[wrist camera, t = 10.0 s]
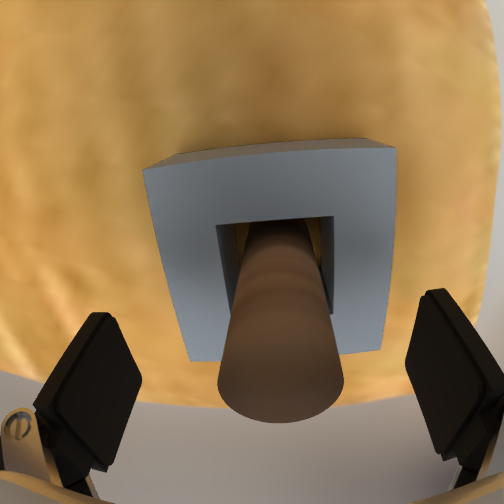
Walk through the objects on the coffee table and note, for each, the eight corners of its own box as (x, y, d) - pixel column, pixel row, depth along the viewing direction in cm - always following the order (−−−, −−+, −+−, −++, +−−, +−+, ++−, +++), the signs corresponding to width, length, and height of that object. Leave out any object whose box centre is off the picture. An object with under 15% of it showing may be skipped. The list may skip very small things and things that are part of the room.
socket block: (175, 154, 18) (142, 170, 13) (364, 138, 16) (396, 147, 12) (205, 312, 22) (190, 361, 17) (361, 302, 21) (380, 349, 16)
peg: (245, 207, 19) (206, 345, 8) (306, 202, 18) (348, 337, 7) (251, 262, 20) (228, 423, 9) (308, 258, 20) (338, 418, 9)
